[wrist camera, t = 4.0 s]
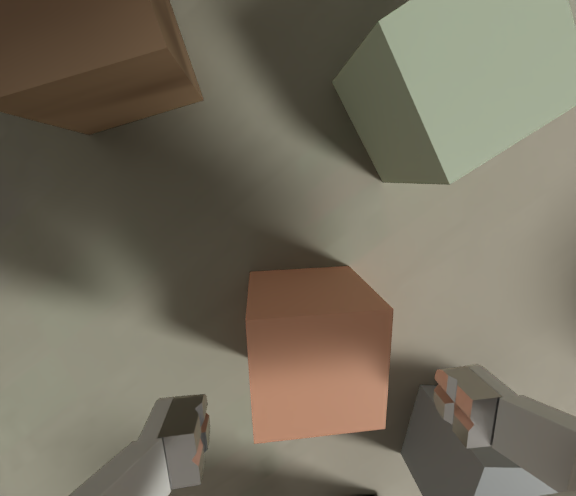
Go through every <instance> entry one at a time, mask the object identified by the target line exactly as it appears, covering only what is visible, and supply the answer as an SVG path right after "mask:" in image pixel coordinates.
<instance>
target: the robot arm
mask: <svg viewBox="0 0 576 496" xmlns="http://www.w3.org/2000/svg"><path fill="white" fill-rule="evenodd" d="M435 380H436V382H437V383H438V385H437V386H436V388H435V389H434V394H433V399H434V403H435V407H436V409H437V411H438V413H439V414H440V416H441V417H442V418H443V420H445V421H447V422H449V423H450V424H452V431H453V432H454V434H455V435H456V436H457V437H458V439H459V440H460V441H461V442H462V444H463V445H464V446H465V447H466V449H468V448H478V447H488V446H492V448H493V449H495V450H496V451H498V452H499V453H501V454H502V455H504V456H505V457H507V458H508V459H509V460H511V461H512V462H514V463H515V464H517V465H518V466H520V467H521V468H523V469H524V470H526V471H527V472H529V473H530V474H532V475H533V476H534V477H536V478H537V479H539V480H540V481H542V482H543V483H545V484H546V485H548V486H549V487H551V488H552V489H554V490H555V491H557V492H558V493H554V494H547V495H541V496H576V417H575V416H573V415H570V414H568V413H565V412H563V411H561V410H558V409H556V408H553V407H551V406H548V405H546V404H543V403H541V402H538V401H536V400H534V399H531V398H529V397H526V396H524V395H519V396H518V395H517V394H516V393H515V392H514V391H512V390H511V389H510V388H509V387H507V386H506V385H505V384H504V383H502V382H501V381H500V380H499V379H498V378H496V377H495V376H494V375H493V374H491V373H490V372H489V371H488V370H486V369H485V368H484V367H483V366H481V365H478V364H475V365H467V366H463V367H454V368H445V369H437V371H436V373H435ZM207 405H208V403H207V396H206V395H205V394H199V395H187V396H175V397H166V398H159V399H158V400H157V401H156V402H155V404H154V407H153V409H152V411H151V413H150V415H149V417H148V419H147V421H146V424H145V426H144V428H143V430H142V432H141V434H140V436H139V438H138V441H133V442H131V443H130V444H129V445H128V446H127V447H125V448H124V449H123V450H122V451H121V452H119V453H118V454H117V455H116V456H115V457H114V458H112V459H111V460H110V461H109V462H108V463H106V464H105V465H104V466H103V467H102V468H101V469H99V470H98V471H97V472H96V473H95V474H93V475H92V476H91V477H90V478H89V479H88V480H86V481H85V482H84V483H83V484H82V485H80V486H79V487H78V488H77V489H76V490H75V491H73V492H72V493H71V494H70V495H69V496H168V495H169V494H170V492H171V489H177V488H183V487H189V486H195V485H201V482H202V476H203V471H204V466H205V457H204V453H205V451H206V450H207V449H208V445H209V437H210V419H209V415H208V414H207V413H206V410H207Z"/></svg>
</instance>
